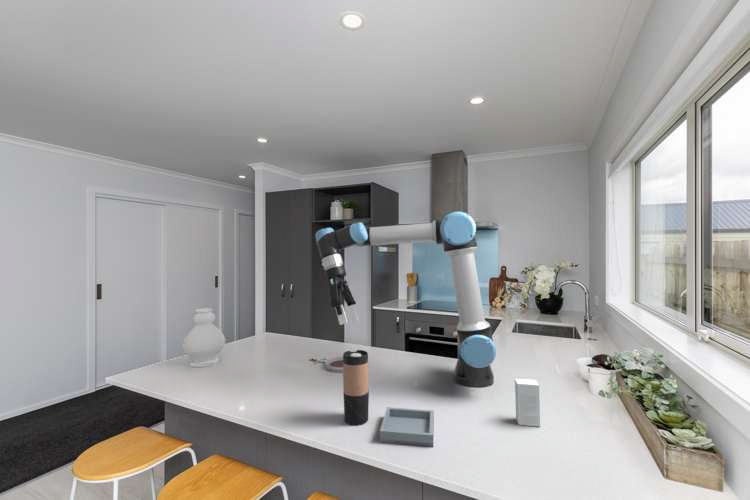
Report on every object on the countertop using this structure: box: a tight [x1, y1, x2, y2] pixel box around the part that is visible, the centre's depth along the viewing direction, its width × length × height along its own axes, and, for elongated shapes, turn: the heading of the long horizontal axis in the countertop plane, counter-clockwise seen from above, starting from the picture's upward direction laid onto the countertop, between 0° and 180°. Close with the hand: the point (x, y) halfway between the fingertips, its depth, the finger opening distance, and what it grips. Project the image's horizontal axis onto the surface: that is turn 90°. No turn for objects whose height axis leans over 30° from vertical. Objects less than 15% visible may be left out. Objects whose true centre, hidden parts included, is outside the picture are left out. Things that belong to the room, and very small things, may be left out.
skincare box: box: [514, 378, 541, 428], centre depth 99 cm, size 6×4×12 cm
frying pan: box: [309, 355, 343, 374], centre depth 154 cm, size 17×3×28 cm
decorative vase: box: [182, 307, 226, 368], centre depth 159 cm, size 18×18×25 cm
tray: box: [379, 406, 435, 448], centre depth 96 cm, size 14×14×3 cm
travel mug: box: [342, 349, 370, 426], centre depth 103 cm, size 8×8×20 cm
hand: (349, 323), depth 124 cm, fingers open, 13 cm apart
